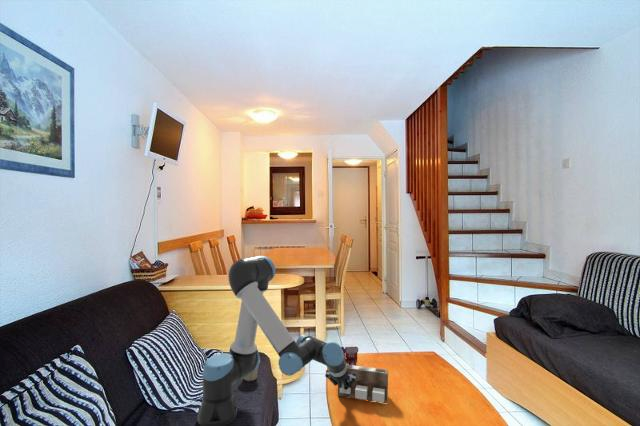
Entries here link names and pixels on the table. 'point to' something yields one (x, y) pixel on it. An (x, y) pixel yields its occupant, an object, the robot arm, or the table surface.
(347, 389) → the left button
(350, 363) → the red wheeled toy
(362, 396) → the middle button
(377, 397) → the right button
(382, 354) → the table surface
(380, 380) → the console
